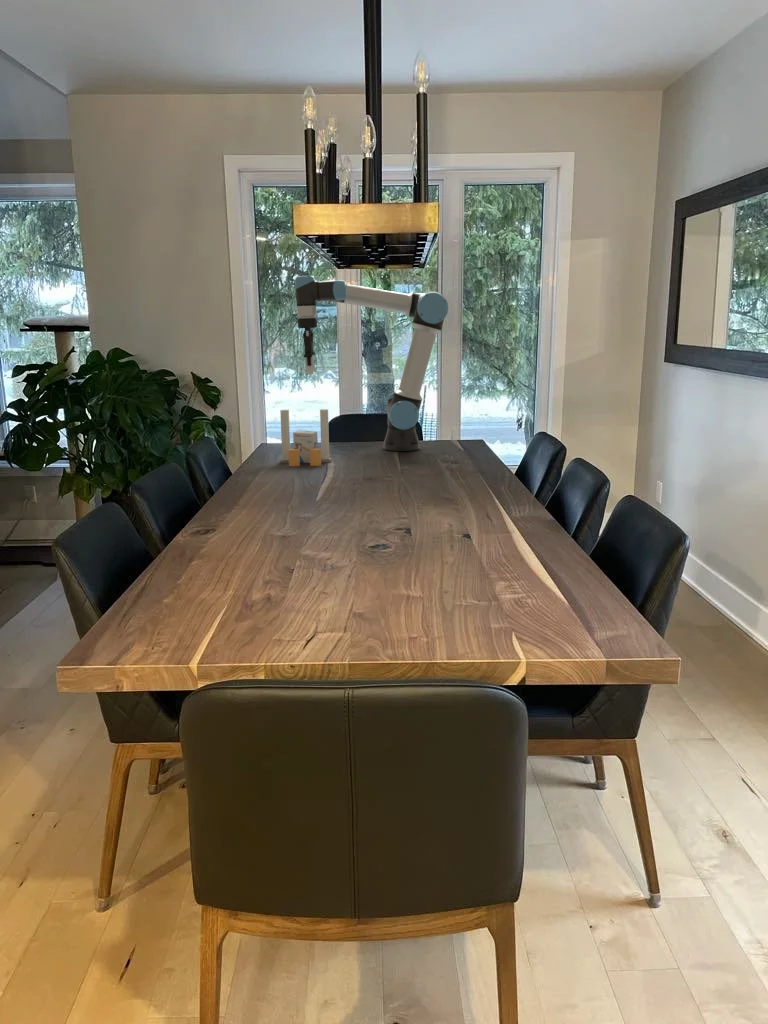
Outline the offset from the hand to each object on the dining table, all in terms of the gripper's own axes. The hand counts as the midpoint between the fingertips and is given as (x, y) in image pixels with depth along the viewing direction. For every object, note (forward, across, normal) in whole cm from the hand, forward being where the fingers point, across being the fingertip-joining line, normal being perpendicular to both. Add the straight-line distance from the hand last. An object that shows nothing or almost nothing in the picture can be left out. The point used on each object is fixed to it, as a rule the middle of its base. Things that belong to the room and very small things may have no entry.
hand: (310, 373), depth 301 cm
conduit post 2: (+33, +13, +4) cm, 36 cm away
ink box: (+33, +13, -3) cm, 36 cm away
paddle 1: (+32, +20, -7) cm, 39 cm away
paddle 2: (+33, +20, +1) cm, 39 cm away
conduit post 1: (+32, +13, -11) cm, 37 cm away
